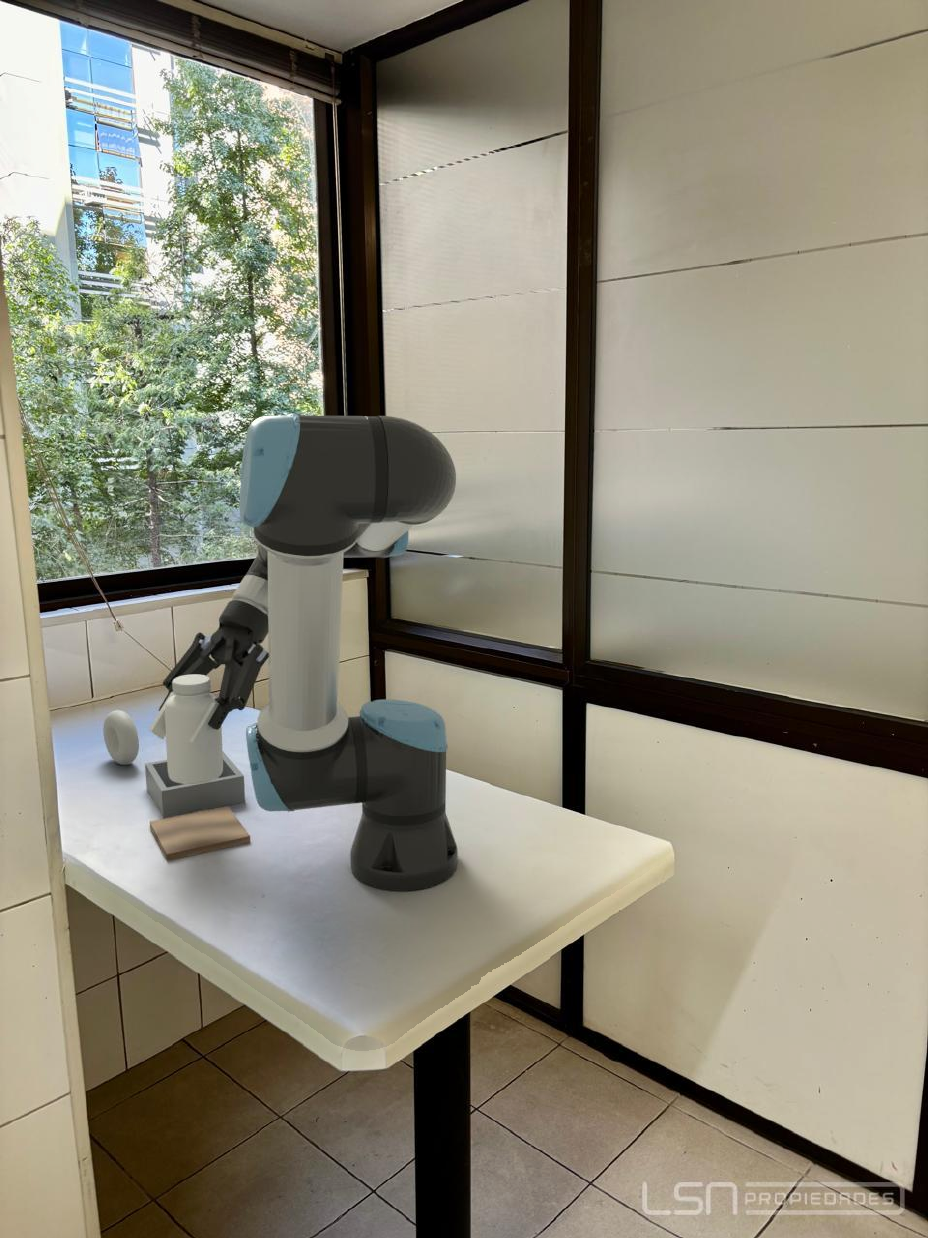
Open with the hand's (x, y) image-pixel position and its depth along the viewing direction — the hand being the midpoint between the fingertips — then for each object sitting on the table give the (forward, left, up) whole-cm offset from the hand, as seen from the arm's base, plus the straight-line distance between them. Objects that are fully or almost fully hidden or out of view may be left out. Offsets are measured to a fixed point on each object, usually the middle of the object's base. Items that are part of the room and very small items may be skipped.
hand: (175, 740), depth 131 cm
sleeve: (+16, -6, -16) cm, 23 cm away
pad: (+1, -3, -16) cm, 16 cm away
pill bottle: (+2, -3, -7) cm, 8 cm away
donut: (+36, +2, -16) cm, 39 cm away
